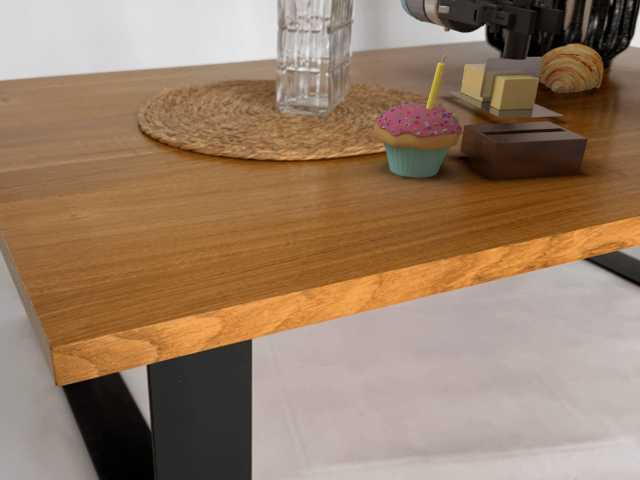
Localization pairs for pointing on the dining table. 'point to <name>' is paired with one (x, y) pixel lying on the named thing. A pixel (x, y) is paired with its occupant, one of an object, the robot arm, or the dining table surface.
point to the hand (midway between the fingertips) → (545, 22)
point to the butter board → (508, 112)
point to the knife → (512, 56)
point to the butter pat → (514, 92)
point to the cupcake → (418, 134)
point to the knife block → (522, 149)
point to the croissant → (571, 69)
